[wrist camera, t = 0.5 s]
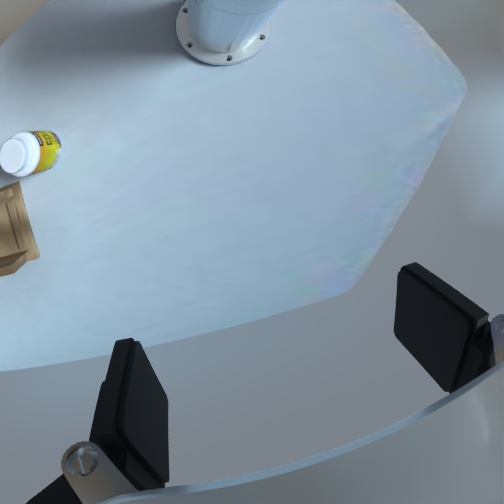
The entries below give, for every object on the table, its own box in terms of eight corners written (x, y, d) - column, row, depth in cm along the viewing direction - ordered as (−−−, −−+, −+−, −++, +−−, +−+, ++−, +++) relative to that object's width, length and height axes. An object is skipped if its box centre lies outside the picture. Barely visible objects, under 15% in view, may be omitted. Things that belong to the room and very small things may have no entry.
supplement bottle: (69, 141, 35) (37, 144, 26) (52, 176, 36) (18, 189, 27) (42, 124, 33) (5, 124, 24) (25, 158, 35) (-12, 167, 25)
